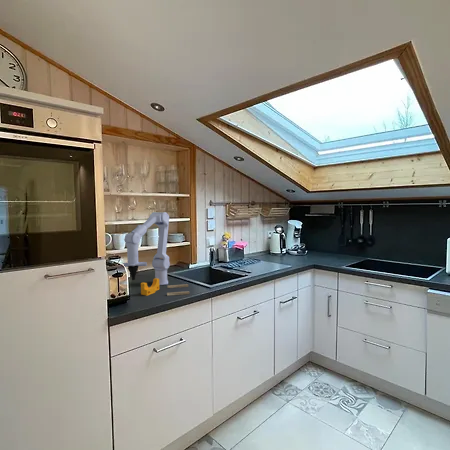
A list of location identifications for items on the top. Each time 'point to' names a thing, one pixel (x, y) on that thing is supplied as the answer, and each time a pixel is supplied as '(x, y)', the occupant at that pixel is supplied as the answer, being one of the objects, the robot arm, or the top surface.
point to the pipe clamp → (150, 290)
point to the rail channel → (177, 292)
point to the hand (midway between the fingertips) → (133, 279)
